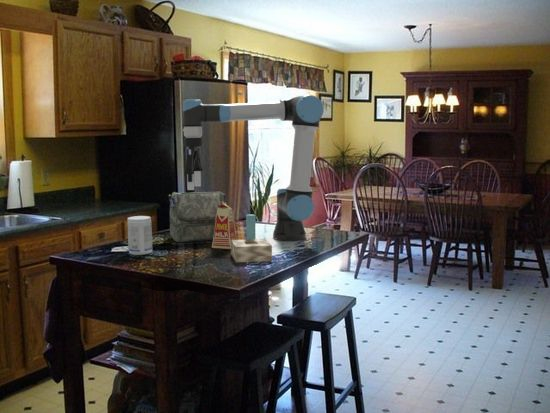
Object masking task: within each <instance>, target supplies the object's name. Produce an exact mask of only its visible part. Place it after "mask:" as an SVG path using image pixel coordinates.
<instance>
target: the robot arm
mask: <svg viewBox="0 0 550 413" xmlns="http://www.w3.org/2000/svg"><path fill="white" fill-rule="evenodd" d="M323 104H324V103H323V102H322V100H321V99H320V98H319V97H317V96H316V95H313V94H304V95H298V96H297V95H296V96H293V97H290V98H284V99H283V98H282V99H279V100H278V101H268V102H267V101H265V102H247V103H246V102H245V103H244V102H243V103H227V104H226V103H213V104H212V103H211V104H210V103H208V104H205V103H203V102H202V100H201V99H197V98H196V99H195V98H193V99H191V98H190V99H184V100H183V102H182V117H183V118H182V121H183V122H182V123H183V129H182V132H183V136H184V138H183V146H184V147H185V148H188V149H186V160H185V161H186V162H185V172H184V175H186V187H187V191H195V187H201V186H202V176H201V175H202V174H201V172H203V168H202V161H201V152H200V151H201V150H200V148H199V147H203V138H202V136H203V126H202V125H203V123H209V124H210V123H229V122H243V121H244V122H245V121H259V120H260V121H262V120H263V121H264V120H278V119H279V120H280V121H281V122H291V126H292V127H293V129H294V139H293V148H292V149H293V150H292V158H291V159H292V160H291V169H290V170H291V171H290V183H289V185H288V186H287V187H286V188H279V189H277V190H276V191H277V192H276V224H275V226H274V230H273V233H272V238H273V239H274V240H278V241H300V240H305V239H306V237H307V232H306V230H305V226H304V223H303V222H304V221H306V220H308V219H309V218H310V217H311V216H312V215H313V214H314V210H315V204H314V200H313V191H314V190H313V189H312V187H310V185H311V176H312V165H313V157H314V156H313V154H314V145H315V144H314V143H315V133H316V132H317V130H318V129H320V120H321V118H322V117H323V115H324V110H325V109H324V105H323Z"/></svg>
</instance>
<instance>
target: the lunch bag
mask: <svg viewBox="0 0 550 413" xmlns="http://www.w3.org/2000/svg"><path fill="white" fill-rule="evenodd" d="M225 199H226V194H225V193H224V192H222V191H220V190H218V191H207V192H206V191H198V192H197V191H196V192H195V191H194V192H176V191H173V192H172V193H171V194H168V200H169V231H170V232H169V233H170V237H171V238H172V240H173V241H174V242H176V243H185V242H202V241H203V242H204V241H205V242H206V241H213V237H214V231H215V218H216V214H217V208H218V207H219V206H220V205H221V204H222V201H223V202H224V203H225V201H224V200H225Z"/></svg>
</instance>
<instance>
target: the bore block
mask: <svg viewBox="0 0 550 413" xmlns="http://www.w3.org/2000/svg"><path fill="white" fill-rule="evenodd" d="M230 254H231V255H230V256H231V257H232V258H233V260H234V262H235V263H249V262H250V263H251V262H252V263H253V262H255V263H256V262H273V245H272V244H271V243H270V242H269V241H268V240H267V239H266V238H256V239H248V240H246V239H236V240H231V249H230Z"/></svg>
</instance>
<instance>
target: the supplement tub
mask: <svg viewBox="0 0 550 413" xmlns="http://www.w3.org/2000/svg"><path fill="white" fill-rule="evenodd" d="M152 229H153V228H152V218H151V216H148V215H135V216H134V215H133V216H130V217H127V239H128V240H127V243H128V244H127V245H128V252H129V254H130V255H134V256H143V255H149V254H151V253H152V252H153V231H152Z"/></svg>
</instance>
